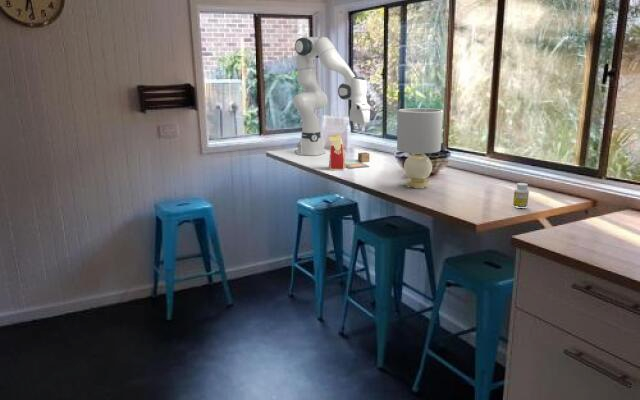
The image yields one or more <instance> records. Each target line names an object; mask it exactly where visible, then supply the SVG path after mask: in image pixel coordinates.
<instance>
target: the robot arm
mask: <svg viewBox="0 0 640 400" xmlns="http://www.w3.org/2000/svg"><path fill="white" fill-rule="evenodd" d="M294 49H295V50H294V51H295V52H296V56H295V57H296V58H295V59H296V60H295V64H296V66H295V67H296V72H297V74H296V75H297V79H298V84H299V85H300V86H301V87H302V88H303V90H304V91H305V92H300V93H297V94H295V95H294V96H293V99H292V104H293V106H294V108H295V109H296V110H297V111H298V113H299V115H300V119H301V124H302V125H301V126H302V128H301V129H302V132H301V136H300V137H301V138H300V140H299V142H298V143H296V148H298V149H295V150H294V152H295V154H296V155H297V156H298V155H299V156H321V155H322V154H326V150H324V143H323V139H322V138H321V136H322V135H321V130H320V128H321V124H320V123H321V122H320V121H321V120H320V118H319V117H318V116H316V113H315V110H320V109H323V108H325V107H326V106H327V105H328V101H329V100H328V95H327V94H326V93H325V92H323V90H322V89H321V87H320V85H319V83H318V80H317V76H316V74H317V73H316V69H315V63H314V60H315V58H316V59H318V58H319V60H320V63H321V65H323V67H324V68H325V69H326V70H330V71H333V72H336V73H339V74H341V75H342V76H343V77H344V79H345V80H346V82H343V83H340V85H339V86H338V89H337V95H338V97H339V98H340V99H341V100H345V101H348V100H349V101H351V104H350V105H351V107H350V110H349V121H350V122H352V125H353V129H354V130H358V129H359V126H358V123H359V124H361V127H360V131H361V132H365V131H366V130H365V129H366V126H367V124H370V122H371V121H370V119H371V112H370V110H371V105H370V104H369V103H368V100H367V98H368V97H367V94H368V86H367V85H368V83H367V80H366V78H365V77H363V76H357V75H356V73H355V72H354V71H353V69H352V67H351V66H350V65H349V64H348V63H347V62H346V61H345V59H344V58H343V57H342V56H341V55H340V53H339V52H338V51H337V49H336V47H335V46H334V44H333V43H332V42H331V40H330V39H329V38H328V37H326V36H321V37H319V36H318V37H317V36H308V37H307V36H306V37H305V36H304V37H299V38H298V39H296V41H295V43H294Z"/></svg>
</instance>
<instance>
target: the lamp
mask: <svg viewBox="0 0 640 400" xmlns="http://www.w3.org/2000/svg"><path fill="white" fill-rule="evenodd" d="M443 116H444V111H443V110H442V109H437V108H428V107H427V108H425V107H424V108H423V107H421V108H419V107H418V108H417V107H416V108H415V107H414V108H400V109H398V110H397V127H396V128H397V131H396V132H397V134H396V135H397V136H396V150H397V151H398V152H403V153H408V154H410V155H409V156H408V157H407V158H406V159H405V161H404V165H403V170H404V174H405V176H407V177H408V178H406V179H405V187H407V186H409V187H417V188H416V189H423V188H422V187H427V186H430V180H429V179H427V178H428V177H429V176H430V175H431V173H432V170H433V164H432V161H431V159H430V158H429V156H427V155H426V154H432V153H433V154H434V153H438V152H440V151H441V150H442V134H443V132H442V131H443ZM409 187H408V188H409ZM427 188H428V187H427Z"/></svg>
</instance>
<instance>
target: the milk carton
mask: <svg viewBox="0 0 640 400" xmlns="http://www.w3.org/2000/svg"><path fill="white" fill-rule="evenodd" d="M328 137H329V140H330V151H329V152H330V153H329V162H328V170H330V171H345V169H346V167H345V162H346V155H345V148H344V143H343V140H342V132H339V133H336V134H332V135H331V134H330V135H328Z"/></svg>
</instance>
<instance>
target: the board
mask: <svg viewBox="0 0 640 400" xmlns="http://www.w3.org/2000/svg"><path fill="white" fill-rule="evenodd" d="M369 167H370V165H367V164H365V163H364V162H363V163H361V162H359V161H358V160H353V161H345V168H346V169H351V170H352V169H361V168H369Z"/></svg>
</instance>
